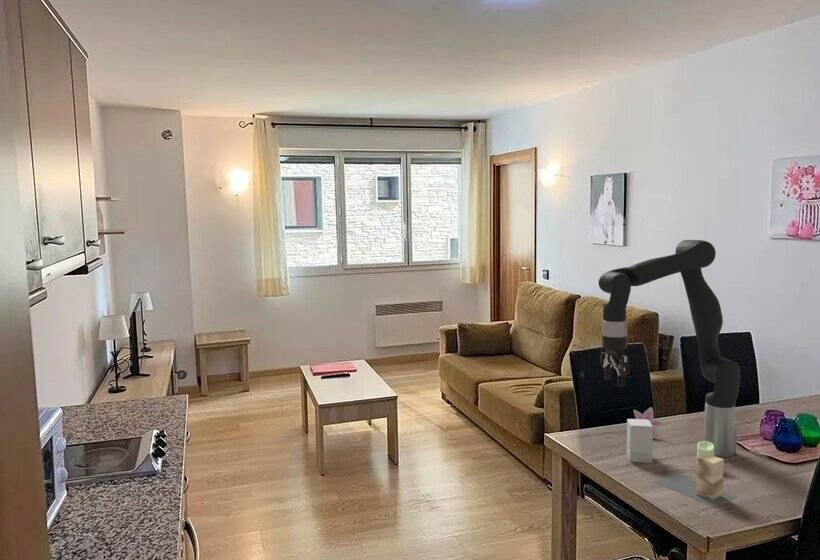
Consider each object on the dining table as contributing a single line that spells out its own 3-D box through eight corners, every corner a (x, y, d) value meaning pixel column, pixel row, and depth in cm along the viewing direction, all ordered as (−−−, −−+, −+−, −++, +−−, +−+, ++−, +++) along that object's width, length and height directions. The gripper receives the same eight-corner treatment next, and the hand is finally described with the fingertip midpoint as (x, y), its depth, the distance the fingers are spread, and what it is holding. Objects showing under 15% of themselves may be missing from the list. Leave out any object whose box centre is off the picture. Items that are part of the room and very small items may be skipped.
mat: (736, 499, 175) (736, 497, 175) (714, 509, 169) (714, 507, 169) (674, 474, 192) (674, 472, 192) (652, 483, 186) (652, 481, 186)
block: (722, 496, 176) (723, 459, 174) (712, 501, 173) (713, 463, 172) (706, 490, 180) (707, 453, 179) (696, 494, 177) (697, 457, 176)
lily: (621, 438, 227) (628, 420, 221) (628, 417, 235) (635, 400, 229) (653, 451, 222) (661, 434, 217) (659, 430, 231) (667, 413, 225)
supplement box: (652, 463, 201) (653, 426, 200) (629, 461, 203) (629, 425, 201) (648, 454, 208) (649, 419, 207) (626, 453, 210) (626, 418, 208)
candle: (713, 472, 193) (714, 447, 192) (696, 469, 196) (696, 445, 195) (714, 466, 198) (714, 442, 197) (697, 463, 200) (698, 439, 199)
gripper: (637, 337, 187) (636, 388, 189) (614, 328, 201) (613, 376, 203) (614, 339, 186) (614, 390, 188) (593, 330, 200) (593, 378, 202)
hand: (614, 382), depth 196 cm, fingers open, 8 cm apart
